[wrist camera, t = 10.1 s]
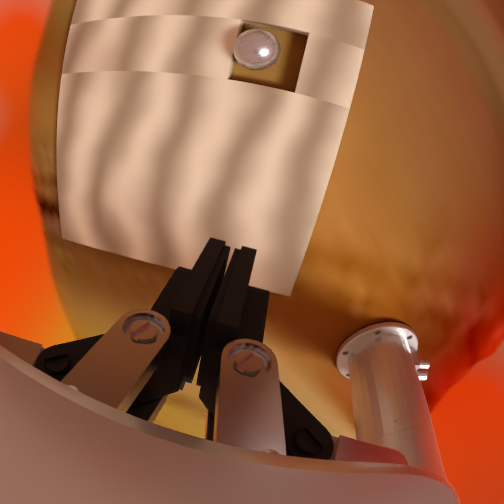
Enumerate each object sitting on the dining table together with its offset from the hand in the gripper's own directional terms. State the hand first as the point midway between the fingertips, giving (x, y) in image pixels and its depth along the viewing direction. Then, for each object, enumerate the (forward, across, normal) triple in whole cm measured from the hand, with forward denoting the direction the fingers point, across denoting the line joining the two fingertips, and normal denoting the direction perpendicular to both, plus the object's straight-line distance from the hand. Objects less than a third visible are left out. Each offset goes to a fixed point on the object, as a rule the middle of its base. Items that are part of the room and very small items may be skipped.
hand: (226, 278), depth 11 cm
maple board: (+19, +9, -2) cm, 21 cm away
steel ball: (+17, +3, -11) cm, 21 cm away
